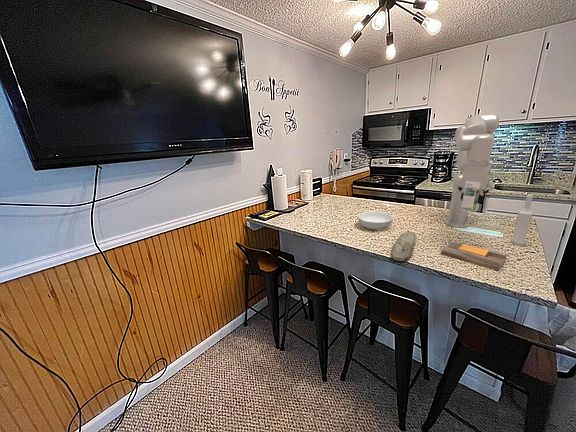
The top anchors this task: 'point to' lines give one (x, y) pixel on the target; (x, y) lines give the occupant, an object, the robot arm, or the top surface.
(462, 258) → the wooden tray
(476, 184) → the syrup box
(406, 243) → the elongated rock
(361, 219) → the serving bowl
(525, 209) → the bottle
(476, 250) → the orange rectangular panel
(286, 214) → the top surface
